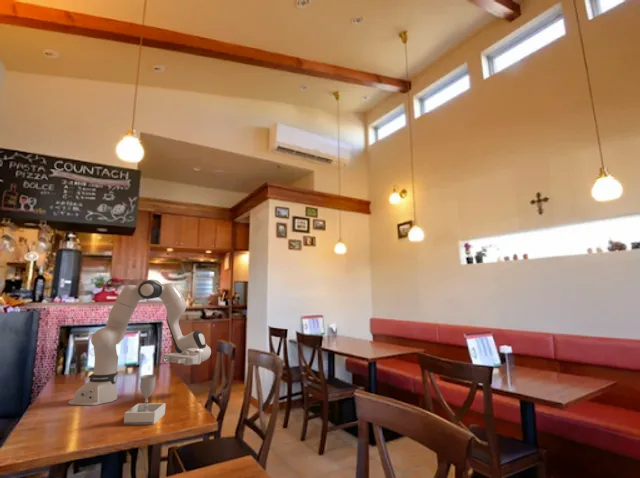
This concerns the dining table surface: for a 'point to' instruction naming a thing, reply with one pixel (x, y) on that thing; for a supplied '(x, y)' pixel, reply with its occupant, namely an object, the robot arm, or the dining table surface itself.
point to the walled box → (144, 414)
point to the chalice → (147, 387)
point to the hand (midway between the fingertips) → (170, 360)
